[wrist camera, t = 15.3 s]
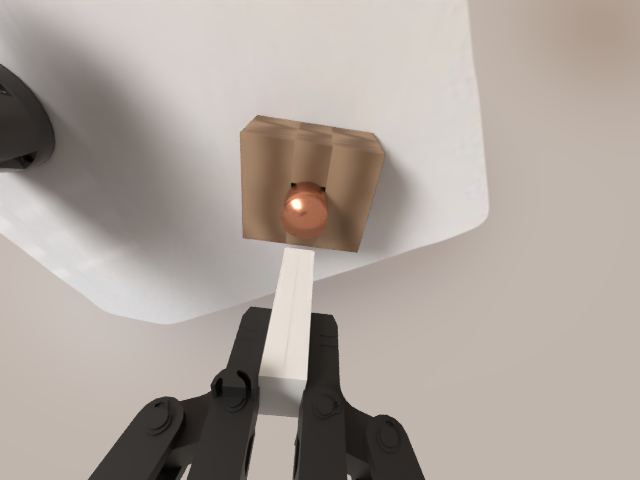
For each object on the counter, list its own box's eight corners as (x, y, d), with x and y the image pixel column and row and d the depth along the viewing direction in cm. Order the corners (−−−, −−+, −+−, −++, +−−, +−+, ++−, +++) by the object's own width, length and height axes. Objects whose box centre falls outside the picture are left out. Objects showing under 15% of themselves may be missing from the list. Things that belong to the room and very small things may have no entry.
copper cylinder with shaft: (289, 195, 40) (279, 236, 31) (292, 161, 37) (282, 195, 28) (324, 200, 40) (323, 241, 32) (330, 166, 37) (331, 202, 29)
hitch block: (256, 206, 44) (242, 238, 37) (257, 115, 36) (239, 132, 29) (352, 219, 46) (357, 252, 38) (373, 133, 37) (385, 154, 30)
